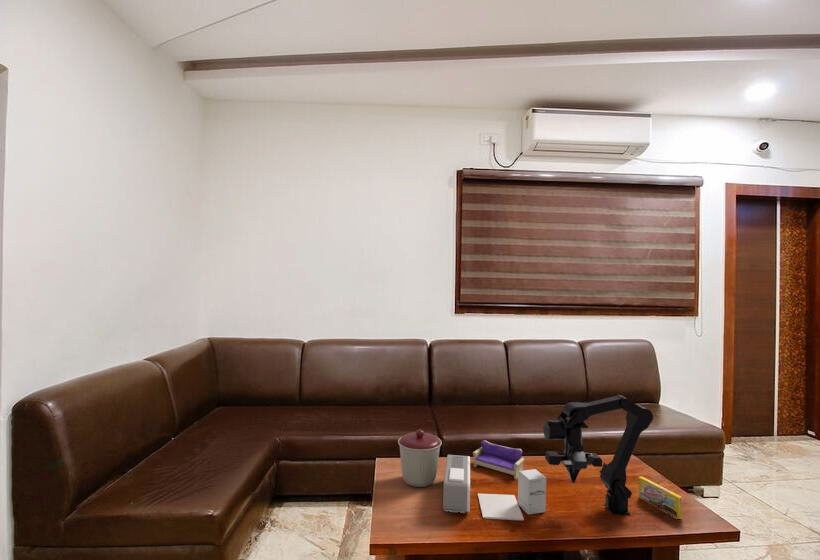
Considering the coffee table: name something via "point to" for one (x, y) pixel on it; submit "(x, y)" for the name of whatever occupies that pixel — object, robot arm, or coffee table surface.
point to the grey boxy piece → (457, 484)
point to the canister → (419, 457)
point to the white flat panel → (499, 507)
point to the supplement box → (532, 491)
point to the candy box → (660, 497)
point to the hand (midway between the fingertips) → (572, 482)
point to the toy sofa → (499, 458)
